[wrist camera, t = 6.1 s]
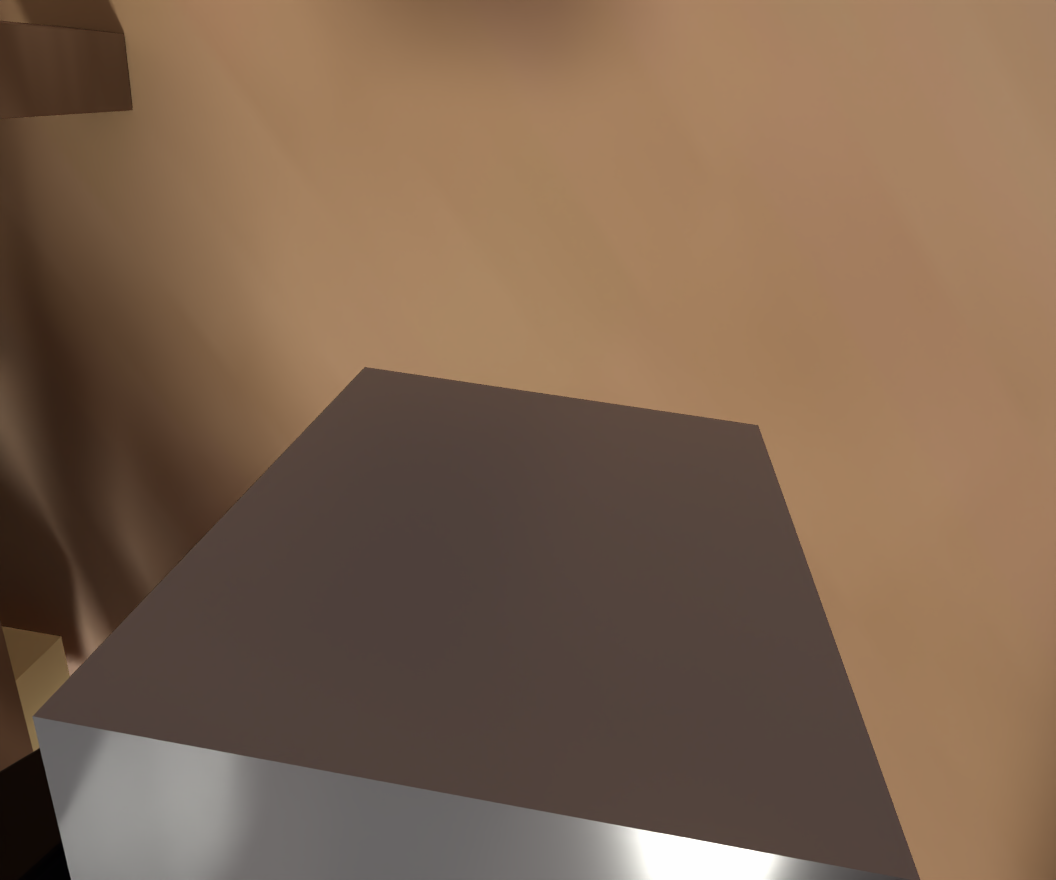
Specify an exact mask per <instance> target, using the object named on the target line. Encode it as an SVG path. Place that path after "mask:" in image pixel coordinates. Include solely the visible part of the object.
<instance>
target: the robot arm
mask: <svg viewBox="0 0 1056 880" xmlns="http://www.w3.org/2000/svg"><path fill="white" fill-rule="evenodd" d="M0 880H71V877H70V873H69V869H68V865H67V861H66V856H65V852H64V848H63V844H62V839H61V835H60V831H59V827H58V823H57V818H56V814H55V810H54V806H53V802H52V797H51V793H50V789H49V785H48V780H47V776H46V772H45V768H44V764H43V759H42V755H41V751H40V748H38V749H37V750H35V751H33V752H32V753H30V754H28V755H27V756H25V757H23V758H21V759H20V760H18V761H16V762H15V763H13V764H11V765H10V766H8V767H6V768H5V769H3V770H1V771H0Z"/></svg>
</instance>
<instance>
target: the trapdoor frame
mask: <svg viewBox="0 0 1056 880" xmlns="http://www.w3.org/2000/svg"><path fill="white" fill-rule="evenodd" d="M126 110H132V102H131V93H130V84H129V76H128V67H127V58H126V49H125V41H124V34H120V33H112V32H103V31H95V30H86V29H78V28H69V27H60V26H50V25H39V24H28V23H16V22H5V21H0V119H1V118H17V117H32V116H48V115H64V114H79V113H95V112H111V111H126ZM32 752H33V748H32V744H31V740H30V736H29V732H28V728H27V724H26V720H25V716H24V712H23V709H22V705H21V701H20V697H19V693H18V689H17V685H16V681H15V677H14V673H13V669H12V665H11V661H10V657H9V653H8V649H7V645H6V641H5V637H4V633H3V629H2V625H1V621H0V771H1V770H3V769H5V768H6V767H8V766H10V765H11V764H13V763H15V762H16V761H18V760H20V759H21V758H23V757H25V756H27V755H28V754H30V753H32Z"/></svg>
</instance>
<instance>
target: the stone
mask: <svg viewBox="0 0 1056 880" xmlns="http://www.w3.org/2000/svg"><path fill="white" fill-rule="evenodd" d="M32 717H33V721H34V726H35V730H36V734H37V738H38V743H39V747H40V751H41V755H42V759H43V764H44V768H45V772H46V776H47V780H48V785H49V789H50V793H51V797H52V802H53V806H54V810H55V814H56V818H57V823H58V827H59V831H60V835H61V839H62V844H63V848H64V852H65V856H66V861H67V865H68V869H69V873H70V877H71V880H920V878H919V875H918V872H917V869H916V867H915V864H914V861H913V858H912V855H911V853H910V850H909V847H908V844H907V841H906V839H905V836H904V833H903V830H902V827H901V825H900V822H899V819H898V816H897V813H896V811H895V808H894V805H893V802H892V799H891V797H890V794H889V791H888V788H887V785H886V783H885V780H884V777H883V774H882V771H881V769H880V766H879V763H878V760H877V757H876V754H875V752H874V749H873V746H872V743H871V740H870V738H869V735H868V732H867V729H866V726H865V724H864V721H863V718H862V715H861V712H860V710H859V707H858V704H857V701H856V698H855V696H854V693H853V690H852V687H851V684H850V682H849V679H848V676H847V673H846V670H845V668H844V665H843V662H842V659H841V656H840V654H839V651H838V648H837V645H836V642H835V640H834V637H833V634H832V631H831V628H830V626H829V623H828V620H827V617H826V614H825V612H824V609H823V606H822V603H821V600H820V598H819V595H818V592H817V589H816V586H815V584H814V581H813V578H812V575H811V572H810V569H809V567H808V564H807V561H806V558H805V555H804V553H803V550H802V547H801V544H800V541H799V539H798V536H797V533H796V530H795V527H794V525H793V522H792V519H791V516H790V513H789V511H788V508H787V505H786V502H785V499H784V497H783V494H782V491H781V488H780V485H779V483H778V480H777V477H776V474H775V471H774V469H773V466H772V463H771V460H770V457H769V455H768V452H767V449H766V446H765V443H764V441H763V438H762V435H761V432H760V429H759V427H758V425H752V424H746V423H739V422H732V421H725V420H719V419H712V418H705V417H698V416H692V415H685V414H678V413H671V412H665V411H658V410H651V409H644V408H637V407H631V406H624V405H617V404H610V403H604V402H597V401H590V400H583V399H577V398H570V397H563V396H556V395H550V394H543V393H536V392H529V391H522V390H516V389H509V388H502V387H495V386H489V385H482V384H475V383H468V382H462V381H455V380H448V379H441V378H434V377H428V376H421V375H414V374H407V373H401V372H394V371H387V370H380V369H374V368H367V367H365V368H364V369H363V370H362V371H361V372H360V373H359V374H358V375H357V376H356V377H355V378H354V379H353V380H352V381H351V382H350V383H349V384H348V385H347V386H346V387H345V389H344V390H343V391H342V392H341V393H340V394H339V395H338V396H337V397H336V398H335V399H334V400H333V401H332V402H331V403H330V404H329V405H328V406H327V407H326V408H325V410H324V411H323V412H322V413H321V414H320V415H319V416H318V417H317V418H316V419H315V420H314V421H313V422H312V423H311V424H310V425H309V426H308V427H307V428H306V429H305V431H304V432H303V433H302V434H301V435H300V436H299V437H298V438H297V439H296V440H295V441H294V442H293V443H292V444H291V445H290V446H289V447H288V448H287V449H286V450H285V452H284V453H283V454H282V455H281V456H280V457H279V458H278V459H277V460H276V461H275V462H274V463H273V464H272V465H271V466H270V467H269V468H268V469H267V470H266V471H265V473H264V474H263V475H262V476H261V477H260V478H259V479H258V480H257V481H256V482H255V483H254V484H253V485H252V486H251V487H250V488H249V489H248V490H247V491H246V492H245V494H244V495H243V496H242V497H241V498H240V499H239V500H238V501H237V502H236V503H235V504H234V505H233V506H232V507H231V508H230V509H229V510H228V511H227V512H226V514H225V515H224V516H223V517H222V518H221V519H220V520H219V521H218V522H217V523H216V524H215V525H214V526H213V527H212V528H211V529H210V530H209V531H208V532H207V533H206V535H205V536H204V537H203V538H202V539H201V540H200V541H199V542H198V543H197V544H196V545H195V546H194V547H193V548H192V549H191V550H190V551H189V552H188V553H187V554H186V556H185V557H184V558H183V559H182V560H181V561H180V562H179V563H178V564H177V565H176V566H175V567H174V568H173V569H172V570H171V571H170V572H169V573H168V574H167V575H166V577H165V578H164V579H163V580H162V581H161V582H160V583H159V584H158V585H157V586H156V587H155V588H154V589H153V590H152V591H151V592H150V593H149V594H148V595H147V596H146V598H145V599H144V600H143V601H142V602H141V603H140V604H139V605H138V606H137V607H136V608H135V609H134V610H133V611H132V612H131V613H130V614H129V615H128V616H127V617H126V619H125V620H124V621H123V622H122V623H121V624H120V625H119V626H118V627H117V628H116V629H115V630H114V631H113V632H112V633H111V634H110V635H109V636H108V637H107V638H106V640H105V641H104V642H103V643H102V644H101V645H100V646H99V647H98V648H97V649H96V650H95V651H94V652H93V653H92V654H91V655H90V656H89V657H88V658H87V659H86V661H85V662H84V663H83V664H82V665H81V666H80V667H79V668H78V669H77V670H76V671H75V672H74V673H73V674H72V675H71V676H70V677H69V678H68V679H67V680H66V682H65V683H64V684H63V685H62V686H61V687H60V688H59V689H58V690H57V691H56V692H55V693H54V694H53V695H52V696H51V697H50V698H49V699H48V700H47V701H46V703H45V704H44V705H43V706H42V707H41V708H40V709H39V710H38V711H37V712H36V713H35V714H34V715H33V716H32Z"/></svg>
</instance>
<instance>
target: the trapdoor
mask: <svg viewBox="0 0 1056 880" xmlns="http://www.w3.org/2000/svg"><path fill="white" fill-rule="evenodd" d="M2 629H3V633H4V637H5V641H6V645H7V649H8V653H9V657H10V661H11V665H12V669H13V673H14V677H15V681H16V685H17V689H18V693H19V697H20V701H21V705H22V709H23V712H24V716H25V720H26V724H27V728H28V732H29V736H30V740H31V744H32V748H33V751H35V750H37V749H38V748H40V747H39V743H38V738H37V734H36V730H35V726H34V721H33V717H32V716H33V715H34V714H35V713H36V712H37V711H38V710H39V709H40V708H41V707H42V706H43V705H44V704H45V703H46V701H47V700H48V699H49V698H50V697H51V696H52V695H53V694H54V693H55V692H56V691H57V690H58V689H59V688H60V687H61V686H62V685H63V684H64V683H65V682H66V680H67V679H68V678H69V677H70V676H69V671H68V666H67V662H66V657H65V652H64V647H63V643H62V638H61V636H56V635H50V634H44V633H38V632H33V631H27V630H21V629H16V628H10V627H4V626H2Z"/></svg>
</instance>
